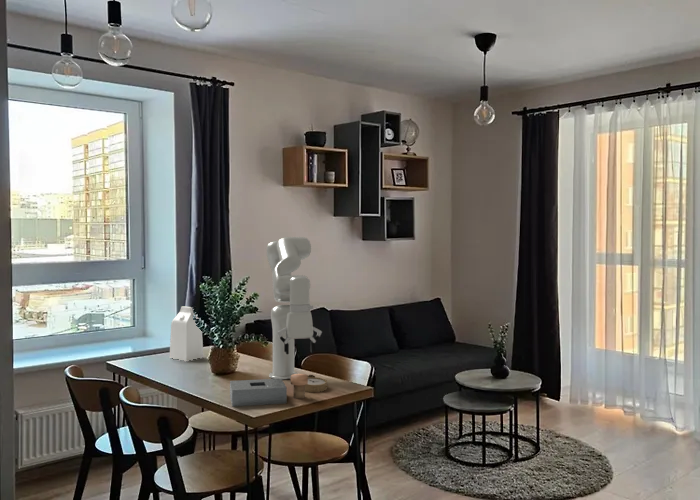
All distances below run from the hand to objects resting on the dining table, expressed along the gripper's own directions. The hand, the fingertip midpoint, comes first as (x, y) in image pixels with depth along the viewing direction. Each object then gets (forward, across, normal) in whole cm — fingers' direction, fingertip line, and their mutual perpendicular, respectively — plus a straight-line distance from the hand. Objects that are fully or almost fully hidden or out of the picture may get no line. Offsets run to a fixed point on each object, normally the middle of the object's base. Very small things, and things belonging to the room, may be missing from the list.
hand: (299, 353), depth 249 cm
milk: (+16, +43, -89) cm, 100 cm away
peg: (+17, 0, -1) cm, 17 cm away
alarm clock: (+18, -7, -15) cm, 24 cm away
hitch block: (+17, +16, -1) cm, 24 cm away
